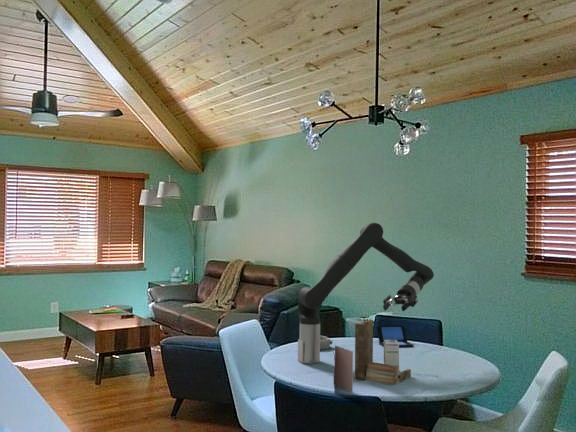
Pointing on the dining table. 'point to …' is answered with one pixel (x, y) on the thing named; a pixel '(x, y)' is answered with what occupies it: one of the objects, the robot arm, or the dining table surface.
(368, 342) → the walnut rack
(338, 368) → the greeting card
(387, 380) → the offcut stack
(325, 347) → the dish
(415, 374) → the dining table surface
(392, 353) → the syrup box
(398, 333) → the handheld game console
